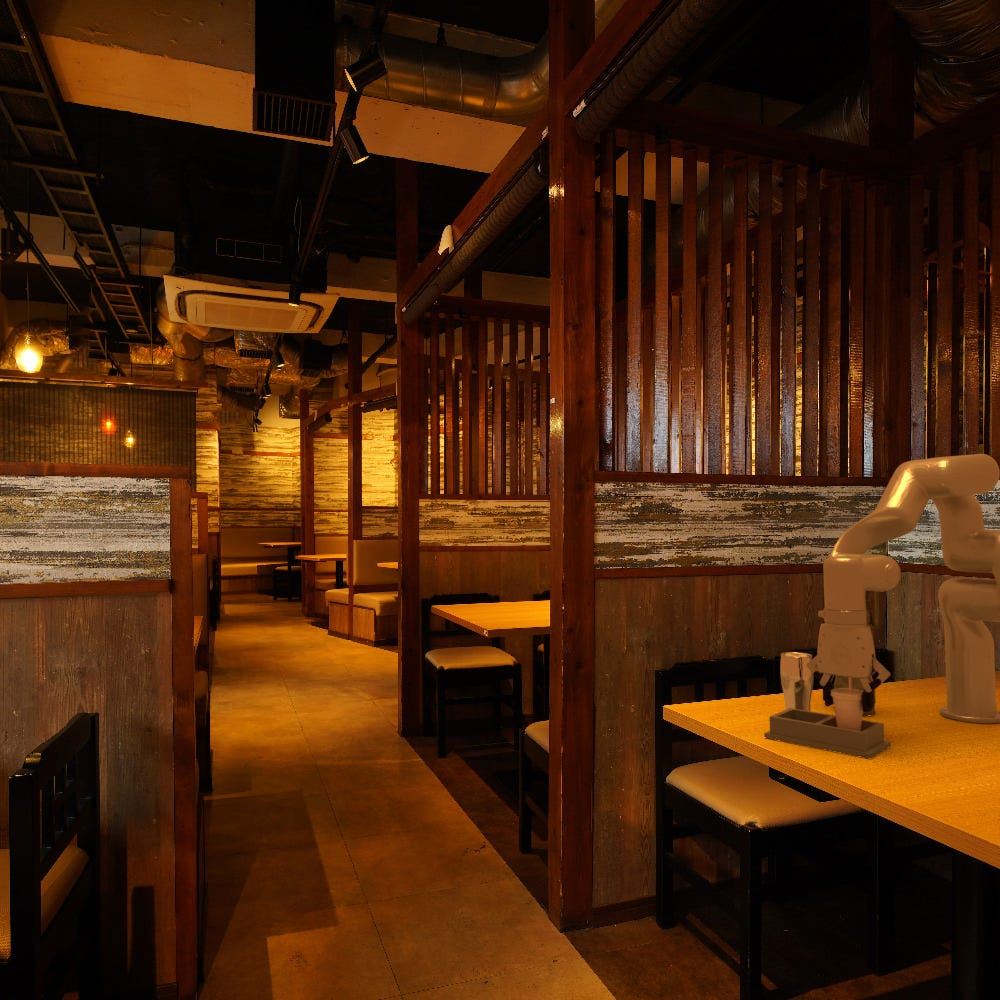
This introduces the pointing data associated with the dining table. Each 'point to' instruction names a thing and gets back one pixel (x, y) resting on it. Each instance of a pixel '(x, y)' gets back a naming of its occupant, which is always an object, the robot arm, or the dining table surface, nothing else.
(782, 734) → the drink carrier
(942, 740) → the dining table surface
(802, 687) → the beer glass
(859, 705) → the smoothie
